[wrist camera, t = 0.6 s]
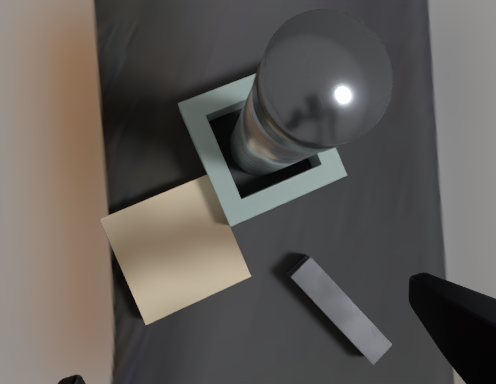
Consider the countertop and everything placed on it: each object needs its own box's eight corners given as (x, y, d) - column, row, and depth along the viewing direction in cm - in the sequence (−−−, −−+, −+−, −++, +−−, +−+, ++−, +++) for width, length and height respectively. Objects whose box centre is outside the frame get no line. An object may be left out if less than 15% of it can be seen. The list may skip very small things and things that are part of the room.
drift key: (382, 337, 24) (392, 344, 23) (364, 356, 24) (373, 365, 23) (305, 254, 24) (310, 257, 22) (286, 273, 23) (290, 277, 22)
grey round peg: (298, 162, 24) (412, 114, 11) (243, 185, 23) (294, 165, 10) (275, 106, 24) (362, -10, 11) (219, 128, 23) (239, 35, 10)
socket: (335, 177, 24) (347, 175, 22) (228, 224, 23) (230, 226, 21) (289, 69, 24) (297, 57, 22) (180, 111, 23) (177, 103, 21)
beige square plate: (249, 273, 23) (251, 276, 22) (148, 319, 22) (145, 325, 21) (207, 175, 23) (207, 174, 22) (104, 218, 22) (99, 219, 21)
